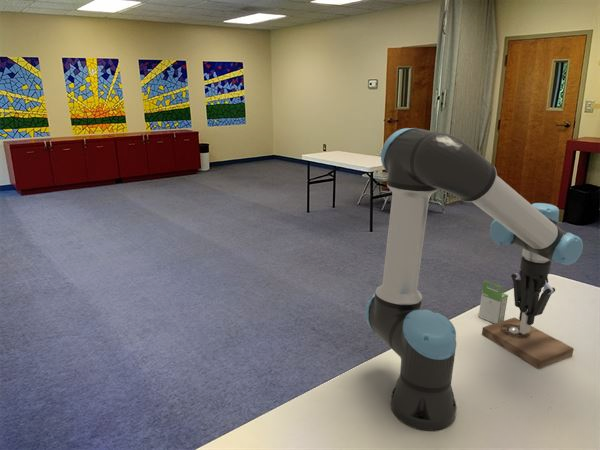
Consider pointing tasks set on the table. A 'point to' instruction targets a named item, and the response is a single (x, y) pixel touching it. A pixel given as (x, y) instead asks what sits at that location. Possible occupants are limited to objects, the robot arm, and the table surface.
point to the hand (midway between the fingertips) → (524, 332)
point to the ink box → (492, 303)
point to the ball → (513, 331)
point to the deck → (528, 343)
